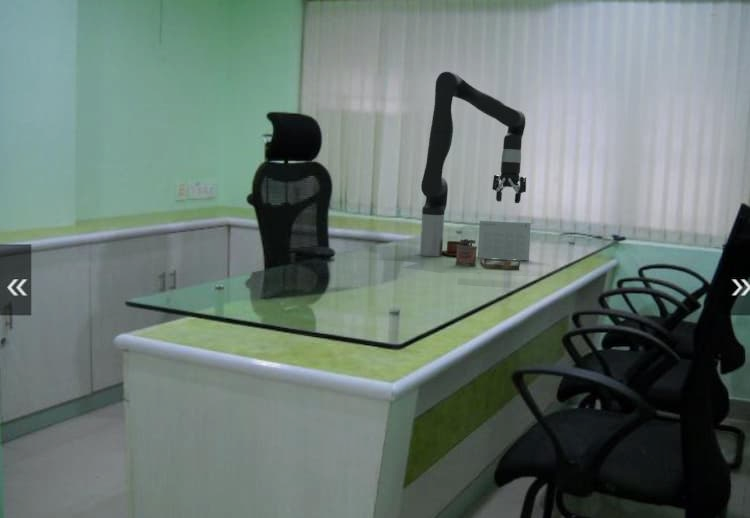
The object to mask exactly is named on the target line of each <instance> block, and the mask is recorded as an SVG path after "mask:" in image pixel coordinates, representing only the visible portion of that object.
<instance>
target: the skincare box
mask: <svg viewBox="0 0 750 518" xmlns="http://www.w3.org/2000/svg"><path fill="white" fill-rule="evenodd" d="M531 224H532V223H531V222H523V221H522V222H519V221H501V220H499V221H498V220H497V221H496V220H479V227H478V245H477V251H478V252H477V258H478V259H485V258H497V259H498V258H499V259H516V260H526V261H525V262H529V261H530V242H531Z"/></svg>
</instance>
